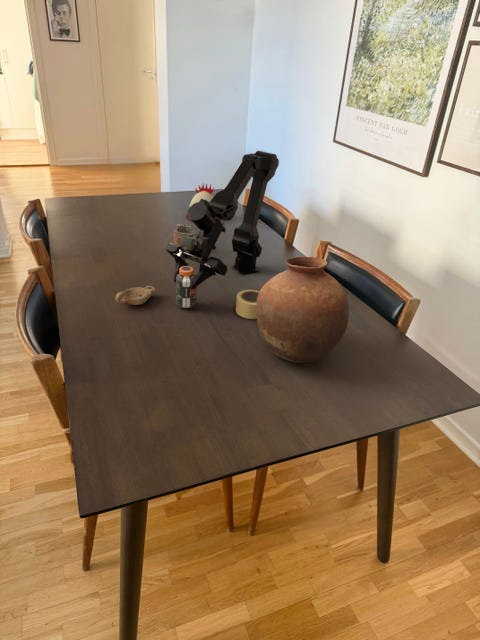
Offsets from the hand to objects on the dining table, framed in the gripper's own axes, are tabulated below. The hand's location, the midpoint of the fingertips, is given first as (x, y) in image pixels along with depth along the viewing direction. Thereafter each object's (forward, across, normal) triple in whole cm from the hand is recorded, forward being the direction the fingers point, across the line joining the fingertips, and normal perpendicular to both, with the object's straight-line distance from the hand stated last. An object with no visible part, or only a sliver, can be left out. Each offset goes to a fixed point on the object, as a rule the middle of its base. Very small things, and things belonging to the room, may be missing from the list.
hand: (183, 285), depth 127 cm
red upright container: (-17, -26, +29) cm, 42 cm away
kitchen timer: (-42, -42, +54) cm, 80 cm away
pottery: (+4, +36, +7) cm, 37 cm away
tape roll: (-3, +16, +13) cm, 21 cm away
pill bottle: (+4, 0, +6) cm, 7 cm away
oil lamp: (+10, -13, +1) cm, 16 cm away
